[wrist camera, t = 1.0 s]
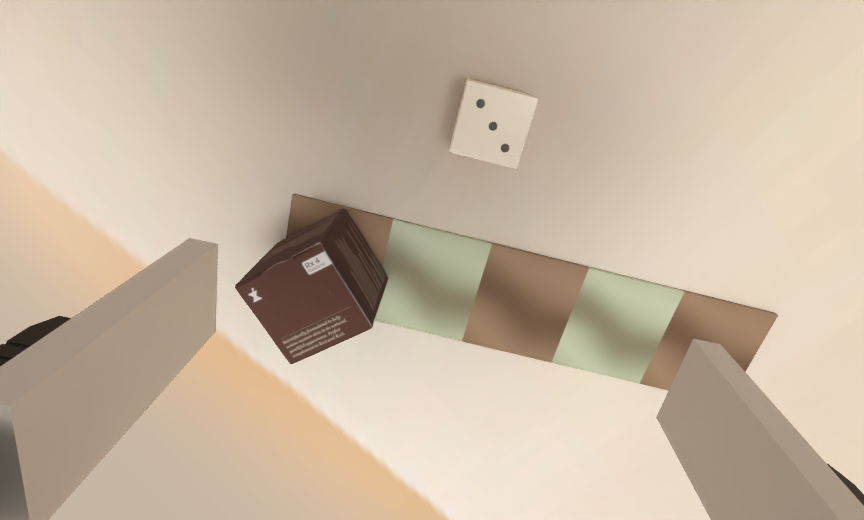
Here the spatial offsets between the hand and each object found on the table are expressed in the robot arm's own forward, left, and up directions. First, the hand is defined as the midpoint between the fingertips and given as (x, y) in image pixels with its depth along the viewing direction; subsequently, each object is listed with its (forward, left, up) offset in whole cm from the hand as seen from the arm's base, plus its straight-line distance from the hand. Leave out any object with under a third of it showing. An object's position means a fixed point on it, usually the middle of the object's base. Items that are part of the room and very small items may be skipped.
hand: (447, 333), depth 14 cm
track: (+8, +7, -21) cm, 23 cm away
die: (-4, +1, -21) cm, 21 cm away
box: (+8, -7, -21) cm, 23 cm away
